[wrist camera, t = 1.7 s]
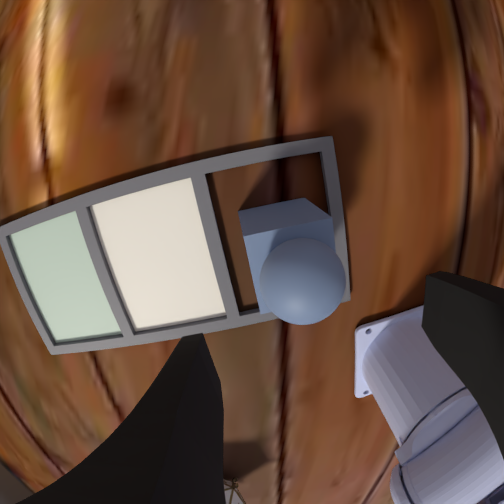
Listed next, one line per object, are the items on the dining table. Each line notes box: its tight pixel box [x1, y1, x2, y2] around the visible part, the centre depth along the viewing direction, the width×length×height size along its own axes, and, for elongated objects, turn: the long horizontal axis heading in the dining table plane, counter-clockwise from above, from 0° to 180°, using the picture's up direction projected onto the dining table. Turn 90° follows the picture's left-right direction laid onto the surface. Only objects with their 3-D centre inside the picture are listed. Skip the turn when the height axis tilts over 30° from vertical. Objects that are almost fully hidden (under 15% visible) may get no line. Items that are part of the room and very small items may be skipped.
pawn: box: [238, 198, 346, 325], centre depth 15 cm, size 4×4×8 cm
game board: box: [0, 136, 350, 355], centre depth 18 cm, size 23×11×1 cm, turn 101°
